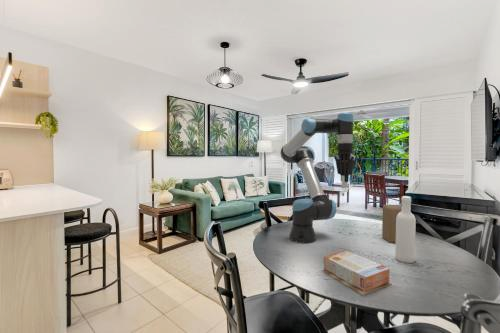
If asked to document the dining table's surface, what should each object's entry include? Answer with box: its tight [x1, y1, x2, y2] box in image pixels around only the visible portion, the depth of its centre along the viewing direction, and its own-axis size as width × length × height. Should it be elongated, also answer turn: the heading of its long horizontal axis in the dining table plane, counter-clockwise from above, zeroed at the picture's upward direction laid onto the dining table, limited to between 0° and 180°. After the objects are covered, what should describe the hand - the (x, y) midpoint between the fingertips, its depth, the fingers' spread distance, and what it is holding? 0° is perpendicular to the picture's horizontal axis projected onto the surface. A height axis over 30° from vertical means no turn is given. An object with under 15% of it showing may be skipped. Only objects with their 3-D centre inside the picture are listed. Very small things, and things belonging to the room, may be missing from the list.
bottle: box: [394, 195, 417, 264], centre depth 115 cm, size 8×8×30 cm
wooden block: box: [381, 204, 402, 244], centre depth 142 cm, size 10×10×20 cm
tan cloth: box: [323, 270, 393, 296], centre depth 99 cm, size 19×16×1 cm
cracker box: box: [323, 249, 390, 292], centre depth 99 cm, size 14×6×21 cm
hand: (344, 187), depth 128 cm, fingers closed
